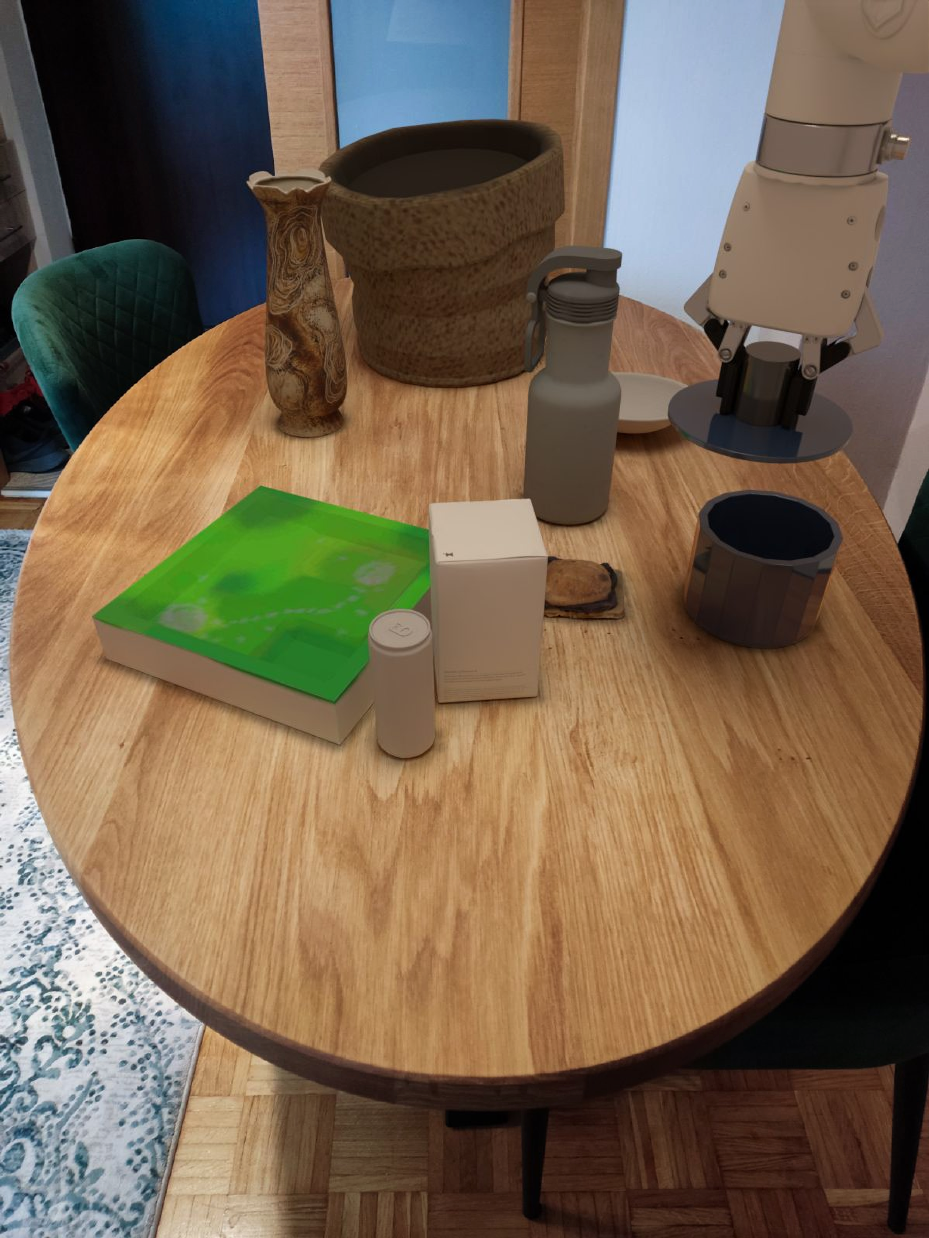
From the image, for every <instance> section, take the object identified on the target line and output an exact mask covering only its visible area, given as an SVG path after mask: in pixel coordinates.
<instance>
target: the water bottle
mask: <svg viewBox="0 0 929 1238" xmlns="http://www.w3.org/2000/svg"><path fill="white" fill-rule="evenodd" d="M622 261H623V252H622V251H620V250H618V249H615V248H612V247H611V248H610V247H597V246H587V245H565V246H562V247H558V248H556V249H554V251H552V252H551V253H549V254H548V255H547V256H546V257H545V258H544V259H543V260H542V261H541V263H540V264H539V265H538V266H537V267H536V269H535V270H534V272H533V273H532V274H531V276H530V278H529V281H528V283H527V289H526V300H527V301H528V302H529V303H532V309H531V321H530V322H529V324H528V326H527V331H526V341H525V364H524V368H525V370H524V372H526V373H530V374H531V373H533V372H534V371H535V370H536V368H537V366H538V364H539V363H540V362H541V360H542V358H543V356H544V352H545V363H544V364H545V365H544V367H543V368H541V369H540V370H538V371H537V372H536V373H535V374H534V376H533V377H532V378H531V379H530V382H529V385H528V393H527V409H526V410H527V411H526V412H527V413H526V432H525V453H524V470H523V471H524V472H523V473H524V475H523V494H522V496H523V498H522V499H530V500H531V503H532V506H533V509H534V512H535V516H536V518H538V519H541V520H543V521H546V522H548V523H552V524H558V525H570V526H571V525H572V526H573V525H581V524H586V523H589V522H591V521H594V520H596V519H597V518H599V517H600V516H601V515H603V514H604V513H605V512H606V510H607V509H608V506H609V501H610V495H611V487H612V480H613V479H612V477H613V469H614V461H615V452H616V444H617V437H618V432H617V428H618V420H619V412H620V403H621V386H620V383H619V381H618V380H617V378H616V377H615V376H614V375H613V374H612V373H611V372H612V371H610V370H609V368H610V360H611V359H610V358H611V349H612V339H613V331H614V323H615V320H616V319H617V317H618V313H617V312H618V310H619V299H620V298H619V297H620V290H621V287H620V284H619V283H618V282H617V281H618V270H620V269H621V268H622ZM561 269H579V270H586V271H571V272H564V273H561V274H559V275H557V276H555V277H553V278H551V279H549V283H548V286H546V285H545V280H546V276H547V274H548V275H549V274H550V273H553V272H555V271H557V270H561ZM543 301H545V302H546V308H547V310H543ZM546 315H547V317H548V329H547V334H546V337H545V331H546ZM538 323H539V333H538V346H537V351H536V354H535V355H534V357H533V358H532V347H533V335H534V331H535V327H536V326H537V324H538ZM545 345H546V348H545Z"/></svg>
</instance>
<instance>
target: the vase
mask: <svg viewBox="0 0 929 1238" xmlns="http://www.w3.org/2000/svg"><path fill="white" fill-rule="evenodd" d="M331 182H332V181H331V177H330V176H329V177H327V178H326V176H325V174H324V173H323V172H321V171H319V170H318V169H314V168H313V169H312V168H300V169H298V170H297V171H296V172H295V174H292V173H290V172H288V171H287V170H285V169H280V170H278V171H277V172H276V174H275V175H272V174H271V173H269V172H268V171H264V170H262V171H257V172H254V173H252V174H250V175H249V178H248V180H246V181H245V183H246V184H247V186H248V187H249V189H250V191H251V192H252V193H253V195H254V197H255V198H256V199H257V201H258V202H259V204H260V206H261V207H262V209H263V213H264V218H265V226H266V228H265V229H266V297H265V298H266V300H265V301H266V302H265V333H264V334H265V336H264V364H265V365H264V366H265V367H264V368H265V377H266V383H267V388H268V393H269V395H270V399H271V401H272V403H273V404H274V405H275V407H276V408H277V409H278V410H279V411H281V415H280V417H279V418H278V421H277V427H278V429H279V430H281V431H282V432H283V433H284V434H288V435H291V436H295V437H297V436H298V437H301V438H302V437H303V438H313V437H320V436H326V435H328V434H331V433H334V432H336V431H338V430H340V429H341V428H342V427H343V426H344V424H345V421H346V420H345V417H344V415H343V414H342V412H341V411H340V408H341V407H342V405H343V404H344V402H345V400H346V397H347V391H348V365H347V357H346V351H345V350H346V349H345V345H344V340H343V334H342V329H341V324H340V319H339V315H338V314H339V313H338V308H337V304H336V299H335V294H334V289H333V284H332V281H331V276H330V275H331V274H330V269H329V264H328V257H327V253H326V246H325V240H324V239H325V238H324V234H323V233H324V231H323V224H322V219H321V204H322V202H323V199H324V197H325V195H326V193H327V191H328V188H329V186H330V184H331Z"/></svg>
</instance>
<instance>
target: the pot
mask: <svg viewBox="0 0 929 1238" xmlns="http://www.w3.org/2000/svg"><path fill="white" fill-rule="evenodd" d="M564 165H565V164H564V148H563V141H562V137H561V135H560V134H559V133H557V132H556V130H554V129H553V128H552V127H550V126H549V125H548V124H547V123H542V122H535V121H527V120H522V119H521V120H520V119H503V118H502V119H501V118H500V119H499V118H479V119H477V118H476V119H457V120H450V121H440V122H430V123H422V124H414V125H405V126H397V127H392V128H389V129H385V130H383V131H379V132H376V133H374V134H370V135H366V136H364V137H361V138H359V139H358V140H355V141H353V142H351V143H349V144H347V145H345V146H343V147H341V148H338V149H337V150H336V151H335V152H333V153H332V154H331V155H330V156H329V157H327V158H326V159H325V160H323V161H322V162H321V163H320V165H319V166H318V167H319V168H318V169H317V170H319V171H321V172H323V173H324V174H325V176H326V178H327V177H329V176H330V177H331V181H332V182H331V184H330V186H329V188H328V191H327V193H326V195H325V197H324V199H323V202H322V204H321V225H322V230H323V233H324V234H323V235H324V239H325V240H326V242H327V243H328V244H329V245H330V246H331V247H332V248H333V249H334V250H335V252H337V253H338V254H339V255H340V256H341V257H342V261H343V264H344V267H345V269H346V272H347V274H348V276H349V278H350V280H351V281H352V284H353V287H352V294H351V305H352V317H353V324H354V327H355V330H356V334H357V335H358V336H357V337H358V340H359V343H360V344H359V350H360V353H361V355H362V357H363V359H364V362H365V363H366V364H367V365H368V366H369V367H371V368H372V369H373V370H374V371H376V372H378V374H381V376H386V377H388V378H391V379H394V380H397V381H399V382H403V383H406V384H414V385H420V386H426V387H441V388H442V387H447V388H449V387H451V388H463V387H471V386H478V385H486V384H492V383H495V382H499V381H502V380H505V379H509V378H512V377H515V376H518V375H519V374H521V373H523V372H525V368H524V364H525V341H526V331H527V326H528V324H529V322H530V321H531V309H532V303H529V302H528V301H527V300H526V289H527V283H528V281H529V278H530V276H531V274H532V273H533V272H534V270H535V269H536V267H537V266H538V265H539V264H540V263H541V261H542V260H543V259H544V258H545V257H546V256H547V255H548V254H549V253H551V252H552V251H554V250H555V248H556V222H557V221H558V220H559V219H560V218H561V217H562V216H563V214H564V213H565V210H566V198H565V197H566V196H565V195H566V194H565V170H564ZM549 281H550V279H549V274H547V276H546V280H545V285H546V286H548V283H549ZM543 310H547V308H546V302H545V301H543ZM547 329H548V317H547V315H546V331H545V338H547ZM538 333H539V323H538V324H537V326H536V327H535V331H534V335H533V347H532V358H533V357H534V355H535V354H536V351H537V346H538Z"/></svg>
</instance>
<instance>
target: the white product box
mask: <svg viewBox="0 0 929 1238" xmlns="http://www.w3.org/2000/svg"><path fill="white" fill-rule="evenodd" d="M427 514H428V530H429V553H430V585H431V618H432V629H431V630H432V637H433V667H434V673H435V674H434V675H435V676H434V677H435V685H436V693H437V695H436V696H437V700H438V703H454V702H470V701H485V700H487V701H488V700H502V699H515V698H517V699H518V698H534V697H537V696H539V695H538V694H539V683H540V682H539V681H540V667H541V654H542V640H543V639H542V638H543V629H544V628H543V627H544V616H545V615H544V603H545V590H546V577H547V562H548V556H549V555H548V553H547V549H546V546H545V542H544V540H543V536H542V532H541V530H540V526H539V521H538V519H537V516H535V512H534V509H533V506H532V503H531V500H530V499H524V498H511V499H510V498H509V499H498V500H497V499H496V500H495V499H494V500H477V501H475V500H473V501H448V502H447V501H446V502H432V503H430V504H428V513H427Z"/></svg>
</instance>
